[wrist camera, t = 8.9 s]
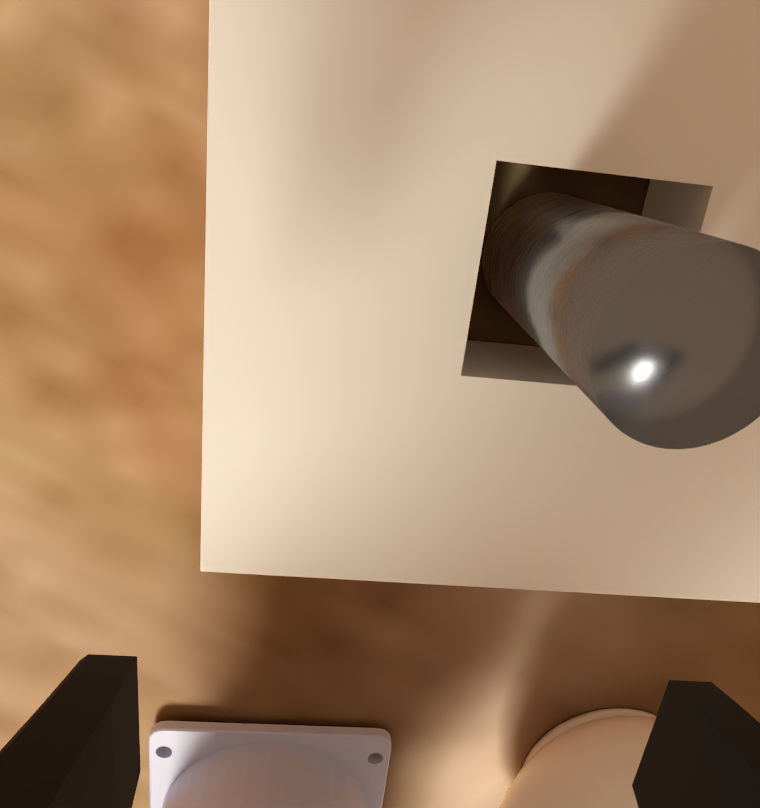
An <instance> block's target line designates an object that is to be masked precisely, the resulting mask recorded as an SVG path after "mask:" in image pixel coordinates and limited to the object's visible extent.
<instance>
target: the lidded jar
mask: <svg viewBox="0 0 760 808" xmlns="http://www.w3.org/2000/svg"><path fill="white" fill-rule="evenodd" d="M655 719H656V715H654V714H652V713H649V712H645V711H642V710H637V709H630V708H609V709H600V710H596V711H591V712H587V713H584V714H581V715H578V716H576V717H573V718H571V719H569V720H567V721H565V722H563V723H561V724H559V725H558V726H556V727H555V728H553V729H551V730H550V731H549V732H548V733H546V734H545V735H544V736H543V737H542V738H541V739H540V740H539V741H538V742H537V743H536V744H535V745H534V746H533V747H532V749H531V751H530V752H529V754H528V755H527V757H526V759H525V761H524V764H523V766H522V769H521V770H520V771H519V773H518V775H517V776H516V778H515V779H514V781H513V782H512V784H511V785H510V787H509V788H508V790H507V792H506V794H505V796H504V798H503V801H502V803H501V806H500V808H638V804H637V801H636V797H635V794H634V790H633V787H632V784H633V781H634V778H635V775H636V773H637V770H638V767H639V764H640V761H641V758H642V756H643V753H644V750H645V747H646V744H647V742H648V739H649V736H650V733H651V730H652V728H653V725H654V722H655Z"/></svg>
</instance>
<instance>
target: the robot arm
mask: <svg viewBox="0 0 760 808" xmlns="http://www.w3.org/2000/svg"><path fill="white" fill-rule="evenodd" d="M148 742H149V790H150V808H382V804H383V798H384V792H385V786H386V780H387V773H388V767H389V761H390V755H391V748H392V745H391V735H390V734H389V732H388V731H386V730H384V729H380V728H362V727H333V726H305V725H276V724H248V723H219V722H191V721H160V722H158V723H156V724H154V726H153V727H152V729H151V732H150V735H149V739H148ZM162 746H165V747H169V748H165V747H162ZM372 753H378V754H372ZM139 774H140V744H139V711H138V678H137V657H135V656H112V655H90V654H88V655H87V656H86V657H84V658H83V659H82V660H80V661H79V662H78V663H77V665H76V666H75V667H74V668H73V669H72V670H71V672H70V673H69V674H68V675H67V676H66V677H65V679H64V680H63V681H62V682H61V683H60V684H59V686H58V687H57V688H56V689H55V690H54V691H53V692H52V694H51V695H50V696H49V697H48V698H47V699H46V701H45V702H44V703H43V704H42V705H41V706H40V707H39V708H38V710H37V711H36V712H35V713H34V714H33V715H32V716H31V718H30V719H29V720H28V721H27V722H26V723H25V724H24V725H23V726H22V727H21V729H20V730H19V731H18V732H17V733H16V734H15V735H14V736H13V737H12V738H11V740H10V741H9V742H8V743H7V744H6V745H5V746H4V747H3V748H2V749H1V751H0V808H132V804H133V800H134V795H135V791H136V787H137V783H138V779H139ZM632 787H633V790H634V794H635V797H636V801H637V804H638V808H760V723H759V722H758V721H757V720H755V719H754V718H753V717H752V716H751V715H750V714H749V713H747V712H746V711H745V710H744V709H743V708H742V707H740V706H739V705H738V704H737V703H736V702H735V701H733V700H732V699H731V698H730V697H729V696H727V695H726V694H725V693H724V692H723V691H721V690H720V689H719V688H718V687H716V686H715V685H714V684H713V683H711V682H696V681H674V680H669V683H668V685H667V688H666V691H665V694H664V697H663V699H662V702H661V705H660V708H659V711H658V714H657V716H656V719H655V722H654V725H653V728H652V730H651V733H650V736H649V739H648V742H647V744H646V747H645V750H644V753H643V756H642V758H641V761H640V764H639V767H638V770H637V773H636V775H635V778H634V781H633V784H632Z"/></svg>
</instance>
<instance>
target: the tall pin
mask: <svg viewBox="0 0 760 808" xmlns="http://www.w3.org/2000/svg"><path fill="white" fill-rule="evenodd" d="M482 269H483V275H484V278H485V282H486V284H487V286H488V289H489V290H490V292H491V294H492V295H493V297H494V298H495V299H496V300H497V301H498V302H499V303H500V304H501V306H502V307H503V308H504V309H505V310H506V311H507V312H508V313H509V314H510V315H511V316H512V317H513V318H514V319H515V320H516V322H517V323H518V324H519V325H520V326H521V327H522V328H523V329H524V330H525V331H526V332H527V333H528V334H529V335H530V336H531V338H532V339H533V340H534V341H535V342H536V343H537V344H538V345H539V346H540V347H541V348H542V349H543V350H544V351H545V352H546V353H547V355H548V356H549V357H550V358H551V359H552V360H553V361H554V362H555V363H556V364H557V365H558V366H559V367H560V368H561V369H562V371H563V372H564V373H565V374H566V375H567V376H568V377H569V378H570V379H571V380H572V381H573V382H574V383H575V384H576V385H577V387H578V388H579V389H580V390H581V391H582V392H583V393H584V394H585V395H586V396H587V397H588V398H589V399H590V400H591V401H592V402H593V404H594V405H595V406H596V407H597V408H598V409H599V410H600V411H601V412H602V413H603V414H604V415H605V416H606V417H607V418H608V420H609V421H610V422H611V423H612V424H613V425H614V426H615V427H617V428H618V429H619V430H620V431H621V432H622V433H624V434H625V435H627V436H629V437H630V438H632V439H634V440H636V441H638V442H641V443H643V444H646V445H649V446H653V447H657V448H664V449H689V448H696V447H701V446H705V445H709V444H712V443H715V442H718V441H721V440H723V439H725V438H727V437H729V436H731V435H734V434H735V433H737V432H739V431H740V430H742V429H744V428H745V427H747V426H748V425H749V424H751V423H752V422H753V421H755V420H756V419H757V418H758V417H760V251H759V250H757V249H754V248H752V247H749V246H746V245H743V244H739V243H736V242H732V241H729V240H725V239H721V238H718V237H714V236H711V235H707V234H704V233H700V232H697V231H693V230H690V229H686V228H683V227H679V226H675V225H672V224H668V223H665V222H661V221H658V220H654V219H651V218H647V217H644V216H640V215H637V214H633V213H629V212H626V211H622V210H619V209H615V208H612V207H608V206H605V205H601V204H598V203H594V202H591V201H587V200H583V199H580V198H576V197H573V196H569V195H566V194H561V193H553V192H546V193H538V194H534V195H530V196H528V197H525V198H523V199H521V200H519V201H517V202H515V203H514V204H513V205H511V206H510V207H508V208H507V209H506V210H505V211H504V212H503V213H502V214H501V215H500V216H499V217H498V219H497V220H496V221H495V223H494V224H493V226H492V227H491V229H490V231H489V233H488V235H487V238H486V241H485V244H484V248H483V254H482Z"/></svg>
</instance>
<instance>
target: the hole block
mask: <svg viewBox="0 0 760 808" xmlns="http://www.w3.org/2000/svg"><path fill="white" fill-rule="evenodd" d="M496 161H505V162H513V163H522V164H530V165H538V166H547V167H555V168H564V169H572V170H581V171H589V172H597V173H606V174H614V175H623V176H631V177H639V178H648V179H650V183H649V187H648V191H647V195H646V199H645V203H644V207H643V211H642V215H641V216H644V217H647V218H651V219H654V220H658V221H661V222H665V223H668V224H672V225H675V226H679V227H683V228H686V229H690V230H693V231H697V232H700V233H704V234H707V235H711V236H714V237H718V238H721V239H725V240H729V241H732V242H736V243H739V244H743V245H746V246H749V247H752V248H754V249H757V250H759V251H760V0H209V61H208V124H207V187H206V250H205V312H204V375H203V438H202V500H201V563H200V571H203V572H221V573H239V574H257V575H275V576H292V577H310V578H328V579H346V580H363V581H381V582H399V583H417V584H435V585H452V586H470V587H488V588H506V589H523V590H541V591H559V592H577V593H595V594H612V595H630V596H648V597H666V598H684V599H701V600H719V601H737V602H755V603H760V417H758V418H757V419H756V420H755V421H753V422H752V423H751V424H749V425H748V426H747V427H745V428H744V429H742V430H740V431H739V432H737V433H735V434H734V435H731V436H729V437H727V438H725V439H723V440H721V441H718V442H715V443H712V444H709V445H705V446H701V447H696V448H689V449H664V448H657V447H653V446H649V445H646V444H643V443H641V442H638V441H636V440H634V439H632V438H630V437H629V436H627V435H625V434H624V433H622V432H621V431H620V430H619V429H618V428H617V427H615V426H614V425H613V424H612V423H611V422H610V421H609V420H608V418H607V417H606V416H605V415H604V414H603V413H602V412H601V411H600V410H599V409H598V408H597V407H596V406H595V405H594V404H593V402H592V401H591V400H590V399H589V398H588V397H587V396H586V395H585V394H584V393H583V392H582V391H581V390H580V389H579V388H578V387H577V385H576V384H575V383H574V382H573V381H572V380H571V379H570V378H569V377H568V376H567V375H566V374H565V373H564V372H563V371H562V369H561V368H560V367H559V366H558V365H557V364H556V363H555V362H554V361H553V360H552V359H551V358H550V357H549V356H548V355H547V353H546V352H545V351H544V350H543V349H542V348H541V347H537V346H526V345H515V344H505V343H494V342H483V341H472V340H467V336H468V330H469V324H470V318H471V312H472V305H473V299H474V293H475V287H476V281H477V275H478V269H479V263H480V257H481V251H482V245H483V239H484V233H485V227H486V221H487V215H488V209H489V203H490V197H491V191H492V185H493V179H494V173H495V167H496Z"/></svg>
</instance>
